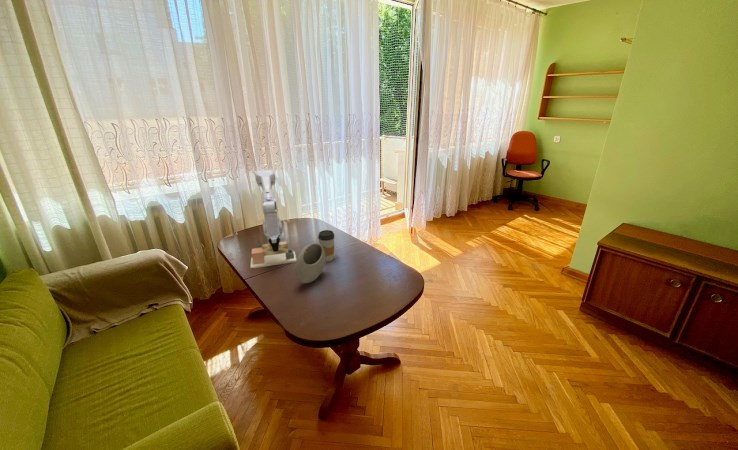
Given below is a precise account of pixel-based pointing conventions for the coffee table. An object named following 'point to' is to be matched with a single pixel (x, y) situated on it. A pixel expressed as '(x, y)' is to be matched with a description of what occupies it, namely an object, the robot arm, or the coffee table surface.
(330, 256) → the coffee cup
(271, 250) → the slat
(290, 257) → the cap board
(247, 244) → the coffee table surface
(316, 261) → the planter
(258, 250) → the sliding end cap
